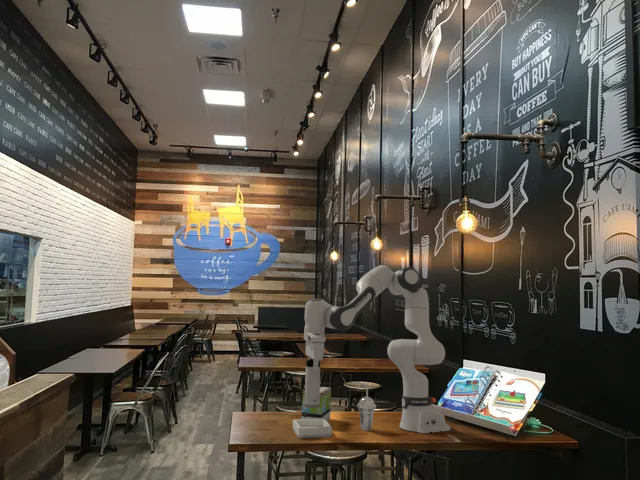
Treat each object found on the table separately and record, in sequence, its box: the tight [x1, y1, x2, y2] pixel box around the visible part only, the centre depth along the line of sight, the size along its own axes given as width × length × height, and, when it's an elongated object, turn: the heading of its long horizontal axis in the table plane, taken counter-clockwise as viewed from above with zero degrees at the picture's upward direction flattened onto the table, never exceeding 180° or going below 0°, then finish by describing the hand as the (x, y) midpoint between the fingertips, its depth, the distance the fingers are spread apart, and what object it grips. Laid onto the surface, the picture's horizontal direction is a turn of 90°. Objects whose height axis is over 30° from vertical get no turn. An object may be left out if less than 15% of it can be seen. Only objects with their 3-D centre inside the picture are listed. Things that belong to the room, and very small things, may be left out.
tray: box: [292, 418, 333, 439], centre depth 215 cm, size 14×14×4 cm
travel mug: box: [304, 359, 321, 408], centre depth 217 cm, size 6×7×20 cm
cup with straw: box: [355, 381, 377, 431], centre depth 224 cm, size 8×9×20 cm
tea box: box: [300, 386, 332, 422], centre depth 236 cm, size 15×10×15 cm, turn 164°
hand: (313, 368), depth 218 cm, fingers closed on travel mug, 6 cm apart
